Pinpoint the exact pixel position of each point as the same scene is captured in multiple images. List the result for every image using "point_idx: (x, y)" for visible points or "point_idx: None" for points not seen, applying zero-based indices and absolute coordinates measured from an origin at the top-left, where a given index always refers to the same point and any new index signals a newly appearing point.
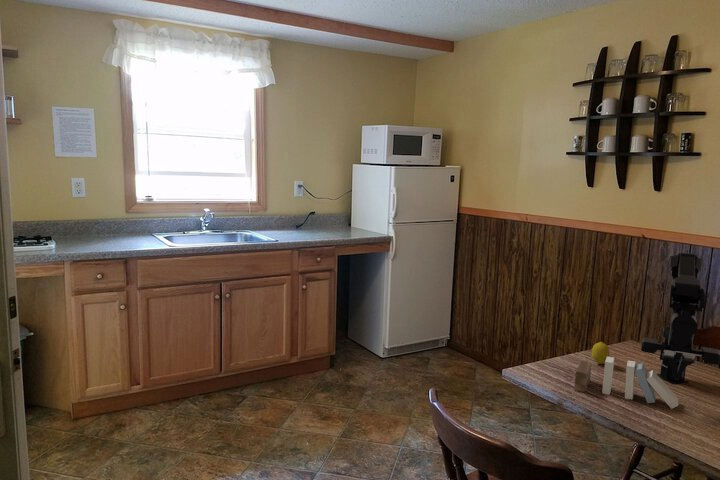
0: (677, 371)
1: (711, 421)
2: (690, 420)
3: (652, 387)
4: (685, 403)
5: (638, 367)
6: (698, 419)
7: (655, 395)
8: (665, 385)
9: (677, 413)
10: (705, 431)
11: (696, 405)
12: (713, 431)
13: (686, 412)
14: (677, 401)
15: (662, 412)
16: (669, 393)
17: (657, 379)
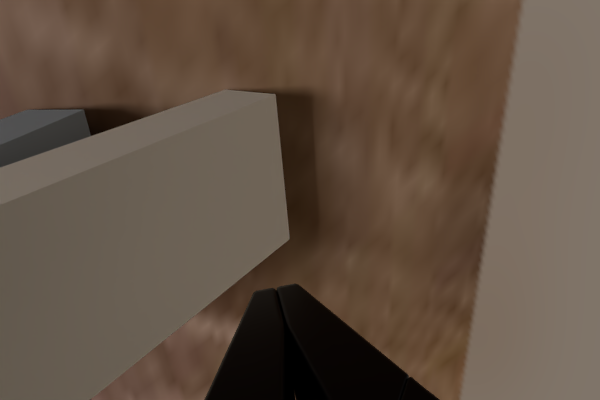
0: (304, 385)
1: (475, 239)
2: (363, 309)
3: (16, 136)
4: (325, 34)
5: None
6: (406, 264)
7: (82, 122)
8: (149, 180)
9: (288, 267)
10: (430, 376)
11: (406, 15)
12: (467, 350)
13: (339, 211)
14: (278, 173)
15: (203, 318)
16: (216, 245)
17: (56, 342)
